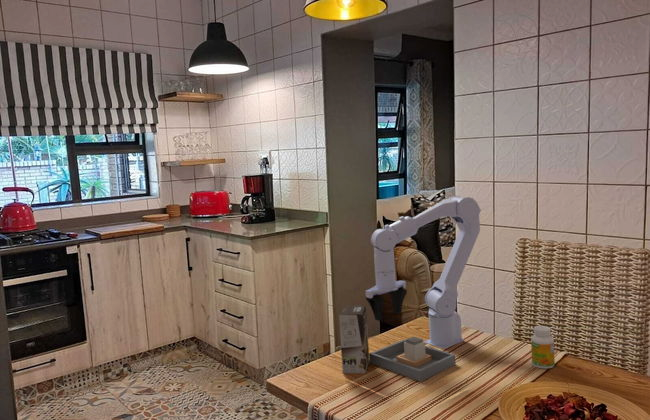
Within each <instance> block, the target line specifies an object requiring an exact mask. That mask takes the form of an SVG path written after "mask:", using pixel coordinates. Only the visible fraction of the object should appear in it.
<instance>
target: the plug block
mask: <svg viewBox="0 0 650 420" xmlns="http://www.w3.org/2000/svg"><path fill="white" fill-rule="evenodd" d="M405 340H406V342H404V355H405V359H408V360H411V361H414V362H415V361H417V360H420V359H422V358H424V357H426V353H425V346H426V343H425V342H424V341H425V340H423V338H420V337H417V336H412V337H409V338H405Z"/></svg>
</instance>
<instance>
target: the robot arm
mask: <svg viewBox="0 0 650 420" xmlns="http://www.w3.org/2000/svg"><path fill="white" fill-rule="evenodd" d="M481 211H482V210H481V208H480V206H479V204H478V201H476V200H475V199H474V198H473V197H469V196H468V197H465V196H459V195H453V196H450V197H449V198H446V199H443V200H441V201H439V202H438V203H436V204H434V205H433V206H431V207H429V208H428V209H425V210H424V211H422V212H421V213H419V214H416V215H415V216H413V217H411V216H408V215H407V216H403V215H402V216H399V217H398V220H395V222H393V223H391V224H385V225H384V228H378V229H376V230H374V232H373V233H372V234H371V238H370V244H371V245H372V246H373V252H374V253H373V254H374V256H373V257H374V259H373V260H374V275H375V285H374V286H372V287H371V288H369V289H366V290H365V300H366V301H367V303H368V305H369V306H370V308H371V311H372V312H373V316H374V320H375V321H378V322H382V321H383V306H384V302H385V298H384V297H381V295H384V294H387V293H389V295H390V298H391V304H392V305H391V306H392V311H393V314H395V315H400V314H401V312H402V306H403V303H404V301H405V300H404V299H405V297H406V295H407V294H408V293H407V292H408V290H407V289H406V288H407V286H406V285H407V283H406V282H407V281H406V280H396V267H395V266H396V265H395V264H396V263H395V253H394V252H395V251H394V248H395V246H396V245H397V244H399V243H401V242H403V241H405V240H407V239H408V238H409V239H410V237H413V236H415V235H416V234H418V230H419V228H421V227H423V226H425V225H427V224H429V223H432V222H435V220H439V219H440V218H442V217H450V218H452V219H453V221H454V222H455V223H456V225H457V228H458V230H459V231H458V233H457V236H456V238H455V241H454V243H453V246H452V248H451V250H450V252H449V255H448V257H447V259H446V263H445V264H444V267H443V269H442V272H441V274H440V277H439V278H438V280H436V281H435V282H433V284H432V286H431V288H430V289H429V290H428V291H427V292H426V294H425V296H424V302H425V304H426V306H427V307H429V308H428V313H427V314H428V326H429V327H428V329H429V339H426V340H423V341H424V342H425V345H426V344H427V345H430V346H433V347H437V348H440V349H443V350H445V349H448V348H450V347H452V346H454V345H457V344H459V343H461V342H464V341H465V338H463V335H462V333H463V332H462V319H461V316H460V314H459V313H458V312H457V311H456V309H457V299H458V296H459V292H458V284H459V282H460V280H461V277H462V275H463V272H464V269H465V267H466V265H467V263H468V261H469V258H470V256H471V253H472V250H473V249H474V246H475V243H476V241H477V239H478V236H479V234H480V231H481V225H480V224H481V223H480V213H481Z"/></svg>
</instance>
